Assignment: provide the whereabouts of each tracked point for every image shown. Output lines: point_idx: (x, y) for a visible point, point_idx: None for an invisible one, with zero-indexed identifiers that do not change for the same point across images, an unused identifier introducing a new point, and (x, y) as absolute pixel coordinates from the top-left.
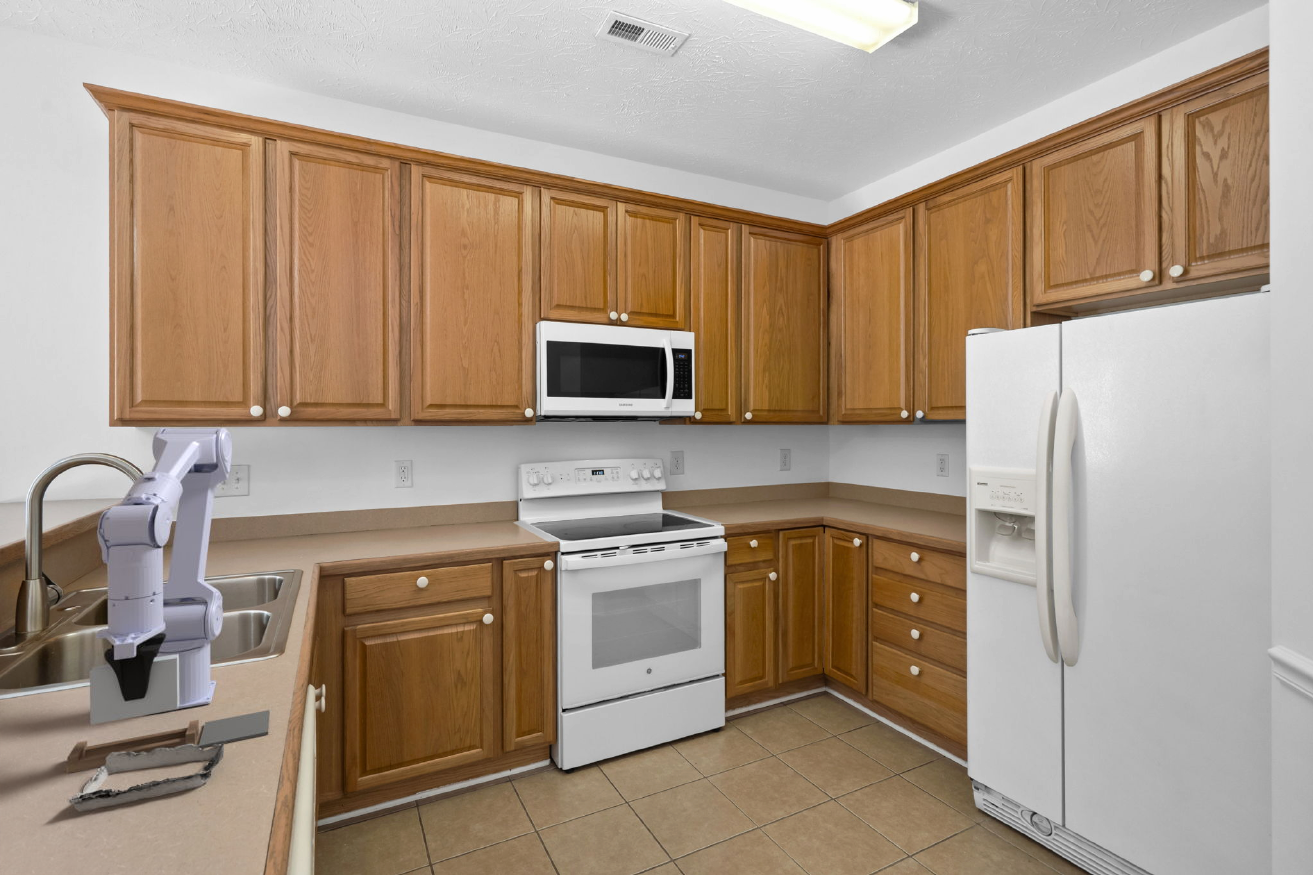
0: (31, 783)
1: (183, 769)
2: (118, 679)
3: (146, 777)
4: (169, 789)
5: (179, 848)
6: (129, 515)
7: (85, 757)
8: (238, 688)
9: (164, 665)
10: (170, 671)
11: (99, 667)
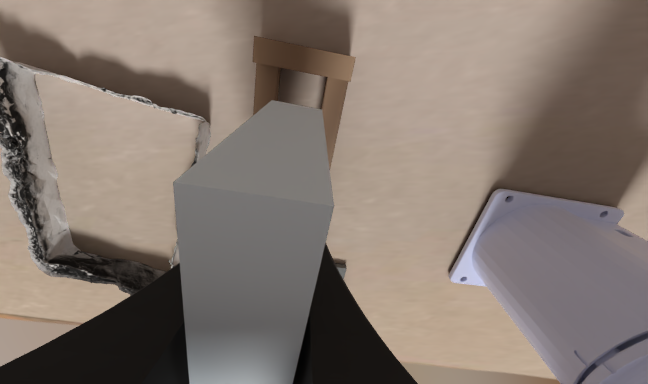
0: None
1: (157, 229)
2: (152, 282)
3: (151, 180)
4: (55, 213)
5: None
6: None
7: (273, 78)
8: (486, 311)
9: None
10: None
11: (256, 247)
